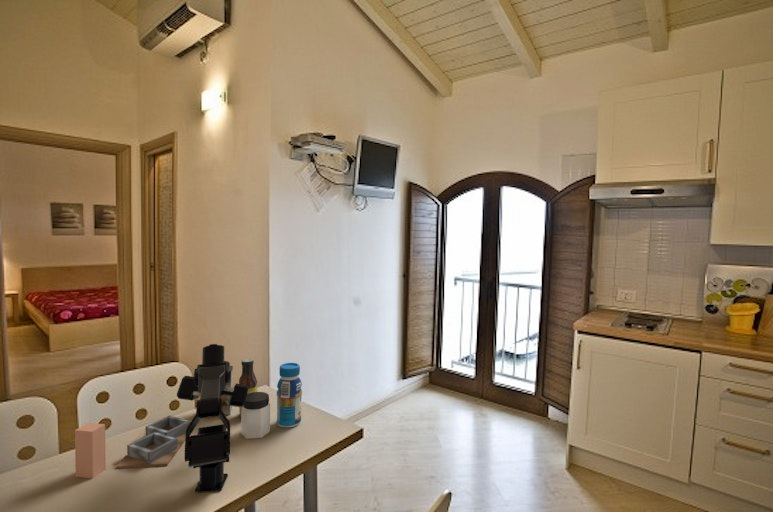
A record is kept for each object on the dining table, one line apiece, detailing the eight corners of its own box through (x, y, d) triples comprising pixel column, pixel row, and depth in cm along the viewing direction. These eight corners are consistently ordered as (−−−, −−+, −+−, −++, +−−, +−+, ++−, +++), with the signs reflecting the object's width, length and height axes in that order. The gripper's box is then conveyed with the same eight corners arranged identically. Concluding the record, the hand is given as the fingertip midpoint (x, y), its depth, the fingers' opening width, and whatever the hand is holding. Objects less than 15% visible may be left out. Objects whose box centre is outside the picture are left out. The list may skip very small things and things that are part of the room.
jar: (273, 434, 126) (273, 398, 126) (248, 442, 121) (248, 404, 121) (262, 423, 133) (262, 389, 133) (238, 430, 128) (238, 395, 128)
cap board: (167, 465, 108) (167, 453, 108) (116, 468, 106) (116, 455, 106) (197, 424, 132) (197, 413, 132) (155, 425, 130) (155, 415, 130)
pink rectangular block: (105, 469, 106) (105, 424, 105) (93, 478, 102) (92, 431, 101) (88, 467, 106) (88, 422, 106) (75, 476, 102) (74, 430, 102)
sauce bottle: (261, 414, 140) (261, 359, 139) (246, 420, 135) (247, 364, 134) (249, 409, 144) (249, 356, 143) (234, 415, 138) (235, 360, 138)
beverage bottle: (272, 421, 135) (272, 364, 134) (294, 414, 140) (294, 360, 140) (283, 431, 129) (284, 371, 128) (306, 423, 134) (307, 366, 133)
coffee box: (202, 417, 137) (203, 372, 136) (206, 409, 143) (206, 366, 142) (230, 415, 139) (231, 370, 138) (232, 407, 145) (233, 364, 144)
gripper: (254, 363, 116) (251, 376, 128) (187, 352, 111) (191, 366, 124) (244, 402, 110) (242, 412, 122) (173, 392, 105) (178, 403, 118)
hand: (214, 397), depth 122 cm, fingers open, 9 cm apart
